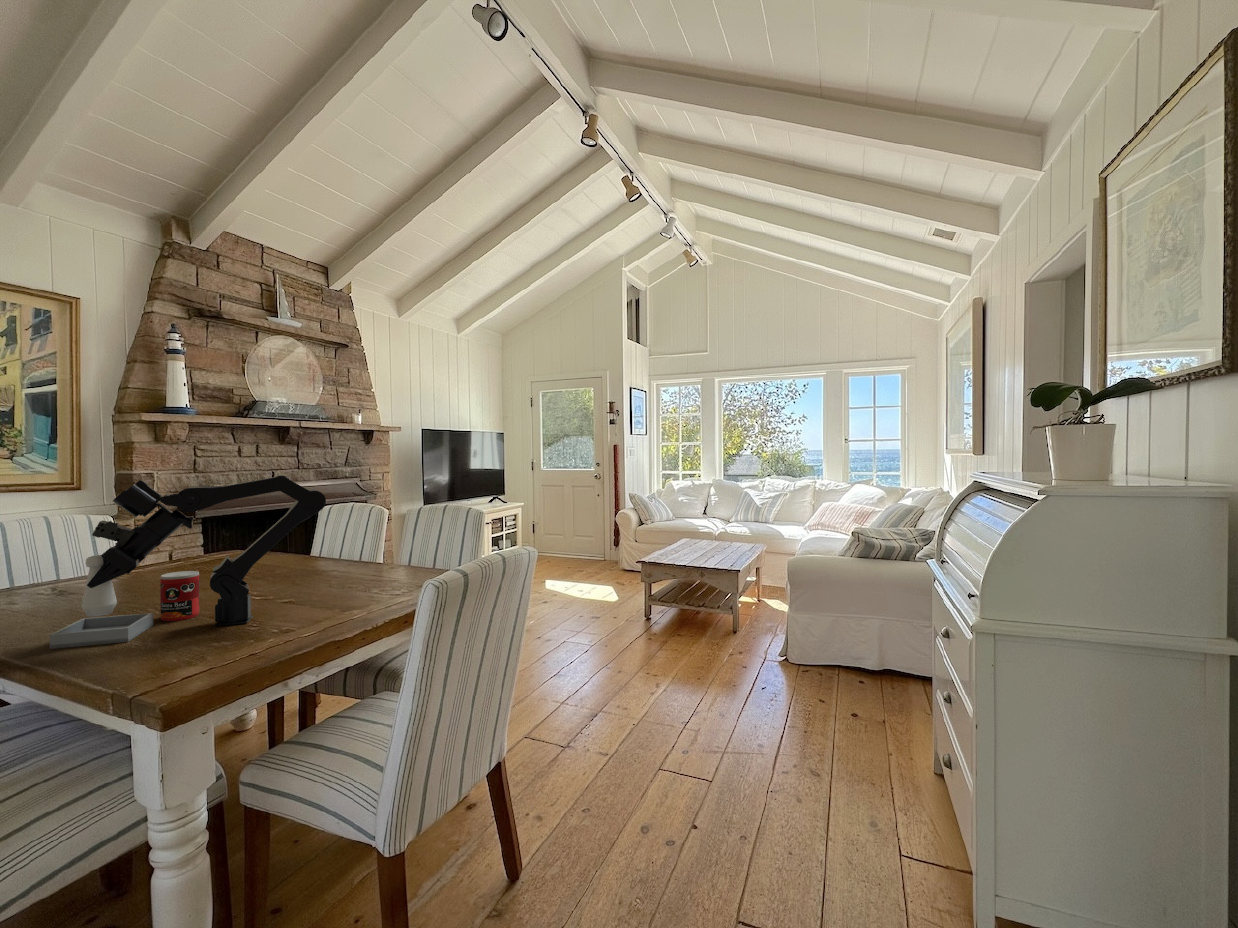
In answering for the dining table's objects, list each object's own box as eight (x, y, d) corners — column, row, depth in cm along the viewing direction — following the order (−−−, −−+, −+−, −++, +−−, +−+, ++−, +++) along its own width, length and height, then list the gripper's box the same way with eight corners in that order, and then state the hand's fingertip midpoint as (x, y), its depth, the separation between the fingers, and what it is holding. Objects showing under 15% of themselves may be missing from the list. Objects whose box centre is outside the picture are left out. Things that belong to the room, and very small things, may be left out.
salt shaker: (86, 619, 120) (85, 558, 120) (77, 615, 123) (76, 556, 123) (121, 612, 125) (120, 554, 124) (112, 609, 128) (111, 552, 128)
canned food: (153, 622, 137) (153, 577, 137) (171, 614, 145) (171, 571, 145) (189, 620, 139) (189, 576, 139) (205, 612, 147) (205, 570, 147)
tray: (153, 625, 135) (153, 612, 135) (128, 641, 122) (128, 627, 122) (83, 631, 130) (82, 618, 130) (49, 649, 118) (49, 634, 118)
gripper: (128, 504, 133) (65, 556, 127) (113, 510, 118) (41, 569, 112) (171, 535, 138) (112, 586, 132) (162, 544, 122) (95, 602, 116)
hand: (90, 585), depth 123 cm, fingers closed on salt shaker, 3 cm apart
